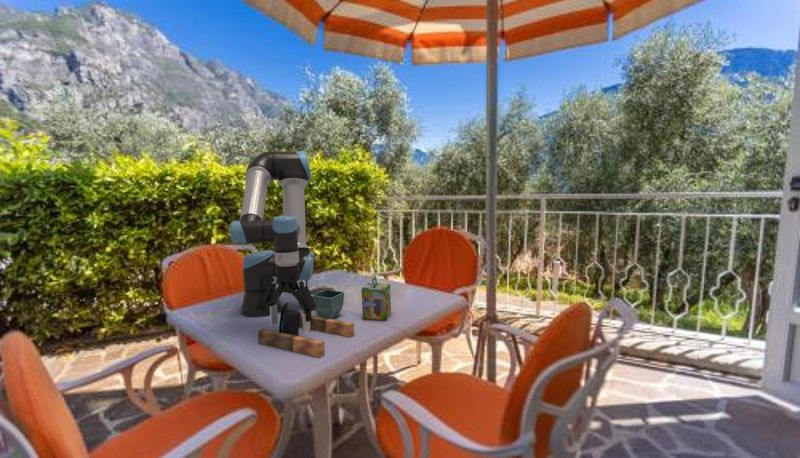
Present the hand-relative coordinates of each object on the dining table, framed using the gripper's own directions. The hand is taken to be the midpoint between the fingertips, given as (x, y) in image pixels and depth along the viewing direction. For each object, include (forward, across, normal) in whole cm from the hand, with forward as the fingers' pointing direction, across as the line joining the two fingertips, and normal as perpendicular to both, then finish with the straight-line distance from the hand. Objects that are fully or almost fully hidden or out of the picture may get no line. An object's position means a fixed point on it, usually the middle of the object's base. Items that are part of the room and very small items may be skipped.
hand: (290, 327), depth 128 cm
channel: (+3, +7, 0) cm, 8 cm away
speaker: (+3, 0, 0) cm, 3 cm away
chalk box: (+3, +17, +28) cm, 33 cm away
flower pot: (+3, +1, +20) cm, 20 cm away
